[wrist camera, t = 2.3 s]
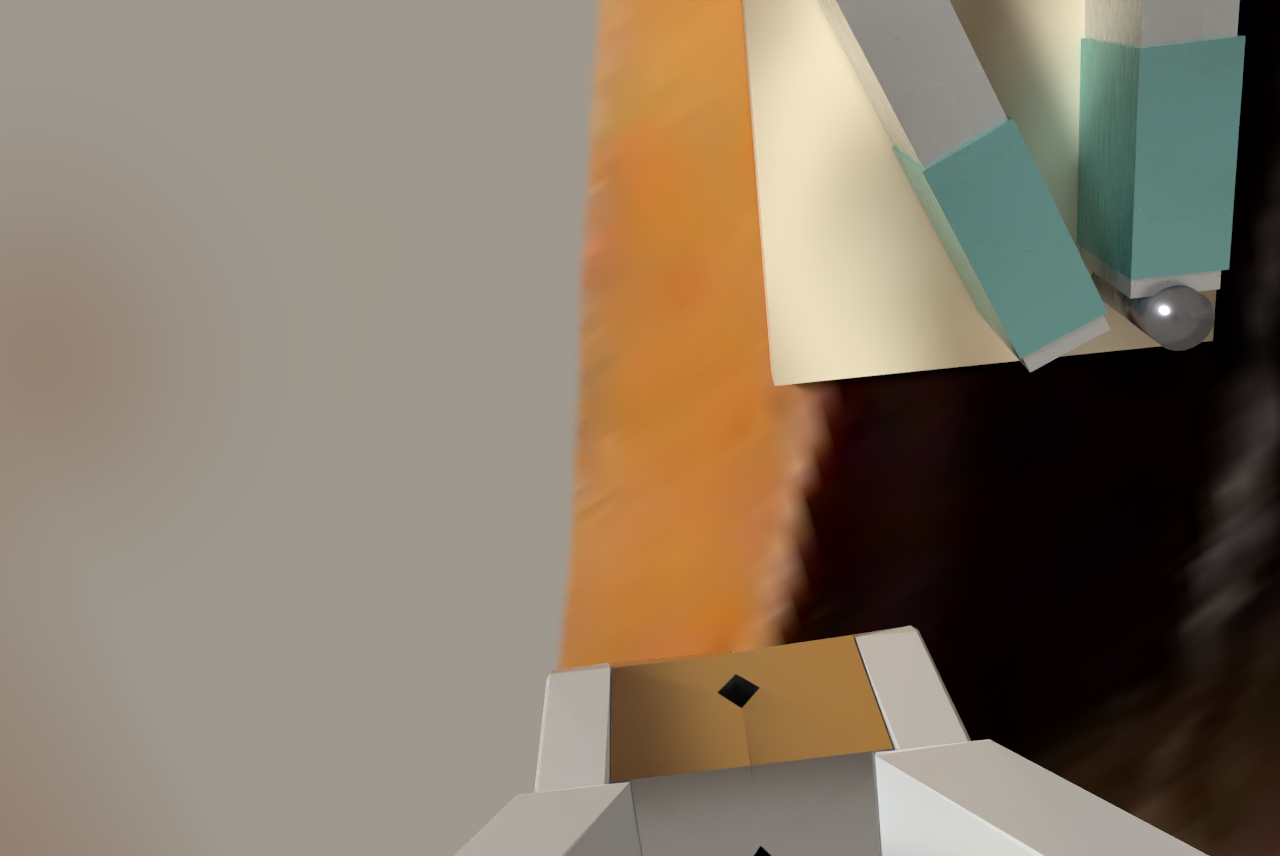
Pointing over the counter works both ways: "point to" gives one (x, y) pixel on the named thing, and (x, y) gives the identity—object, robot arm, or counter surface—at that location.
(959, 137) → the tong arm
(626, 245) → the counter surface
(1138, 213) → the tongs fixed arm
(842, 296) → the board
